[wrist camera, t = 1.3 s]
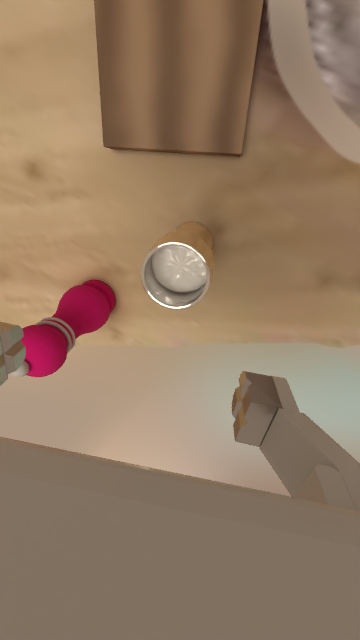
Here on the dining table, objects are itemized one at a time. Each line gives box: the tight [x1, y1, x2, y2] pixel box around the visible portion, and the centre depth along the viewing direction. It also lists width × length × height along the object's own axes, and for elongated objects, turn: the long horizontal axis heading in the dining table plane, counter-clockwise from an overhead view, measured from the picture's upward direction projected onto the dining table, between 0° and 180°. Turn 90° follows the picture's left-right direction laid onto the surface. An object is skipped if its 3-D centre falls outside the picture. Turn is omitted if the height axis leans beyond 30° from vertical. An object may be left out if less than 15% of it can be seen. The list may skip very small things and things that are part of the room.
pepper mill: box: [10, 280, 115, 377], centre depth 35 cm, size 7×7×20 cm
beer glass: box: [141, 222, 214, 310], centre depth 31 cm, size 7×7×15 cm
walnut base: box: [94, 0, 263, 156], centre depth 28 cm, size 16×16×3 cm
